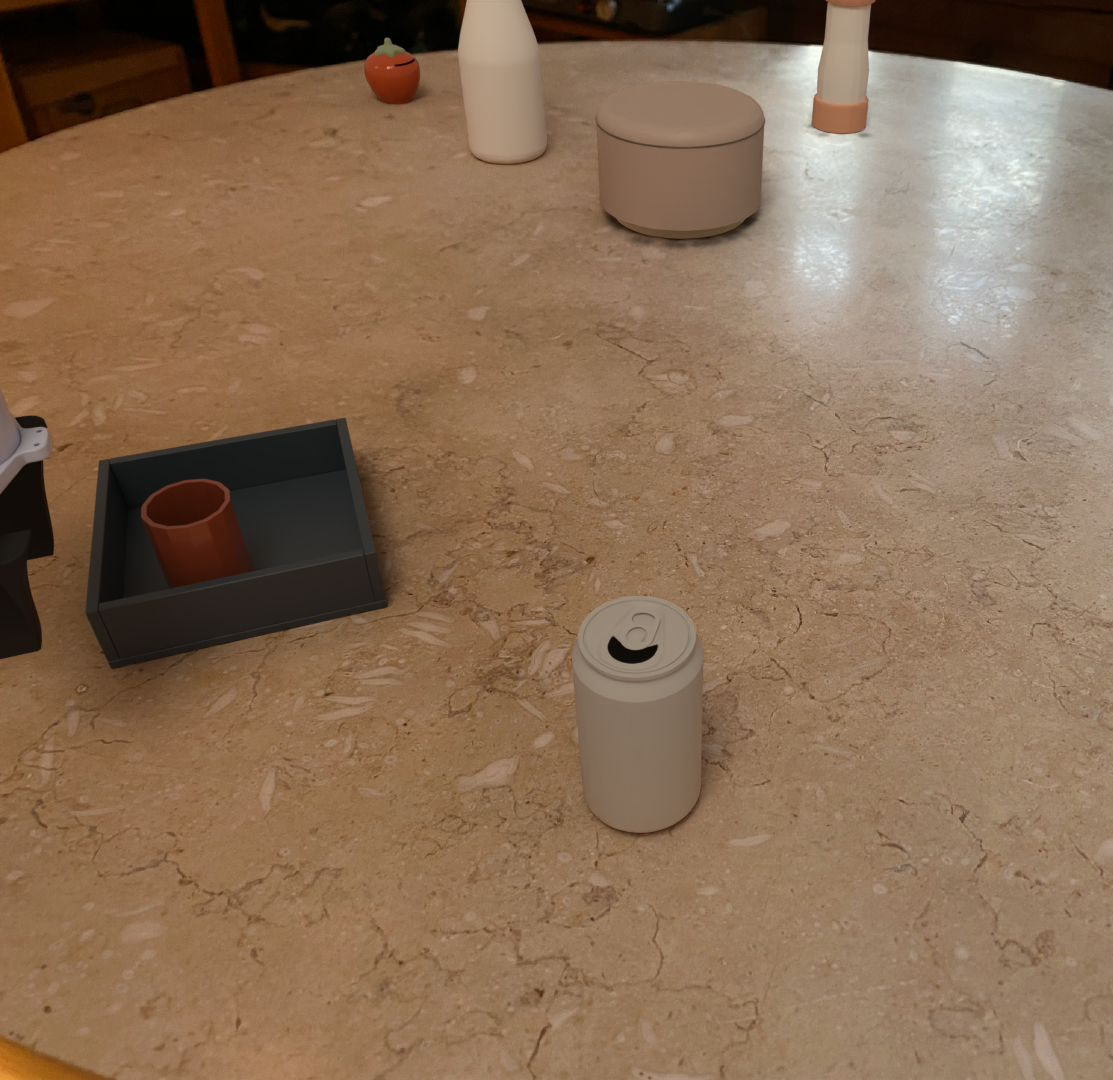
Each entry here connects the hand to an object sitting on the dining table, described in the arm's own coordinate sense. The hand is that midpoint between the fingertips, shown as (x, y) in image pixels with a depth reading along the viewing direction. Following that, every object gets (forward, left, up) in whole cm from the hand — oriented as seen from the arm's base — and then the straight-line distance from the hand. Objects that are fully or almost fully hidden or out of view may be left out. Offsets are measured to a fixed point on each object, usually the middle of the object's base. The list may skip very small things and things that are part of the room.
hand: (26, 601), depth 56 cm
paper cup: (+7, +10, -9) cm, 15 cm away
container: (+57, +60, -10) cm, 83 cm away
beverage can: (+28, -15, -10) cm, 33 cm away
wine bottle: (+43, +84, -10) cm, 95 cm away
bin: (+9, +13, -10) cm, 19 cm away
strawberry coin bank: (+33, +109, -10) cm, 114 cm away
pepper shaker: (+87, +81, -10) cm, 119 cm away
